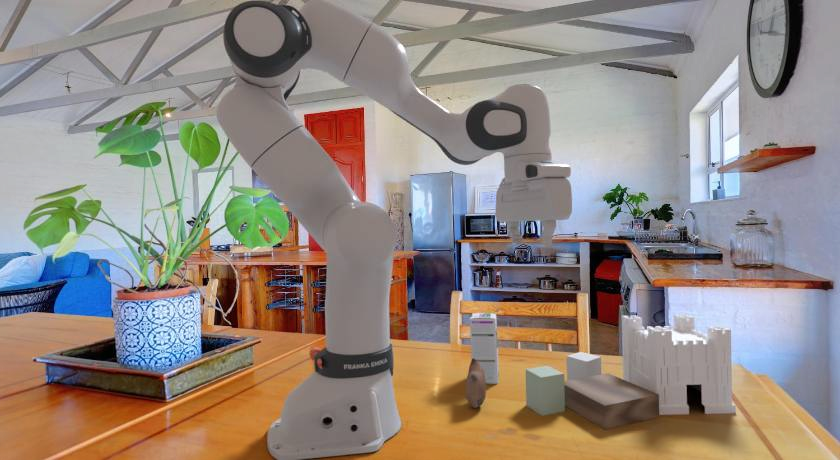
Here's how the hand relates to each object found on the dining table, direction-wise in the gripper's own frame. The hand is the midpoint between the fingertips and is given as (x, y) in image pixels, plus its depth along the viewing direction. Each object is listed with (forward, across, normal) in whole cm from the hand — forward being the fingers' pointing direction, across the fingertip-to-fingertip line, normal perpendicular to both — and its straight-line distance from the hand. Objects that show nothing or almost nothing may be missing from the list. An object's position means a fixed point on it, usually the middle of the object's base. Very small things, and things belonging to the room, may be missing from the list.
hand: (530, 245), depth 83 cm
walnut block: (+31, +7, +10) cm, 33 cm away
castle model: (+32, +8, +26) cm, 42 cm away
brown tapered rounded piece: (+31, -5, -11) cm, 33 cm away
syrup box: (+31, -16, -2) cm, 35 cm away
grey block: (+31, -5, +15) cm, 35 cm away
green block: (+31, +2, 0) cm, 31 cm away
